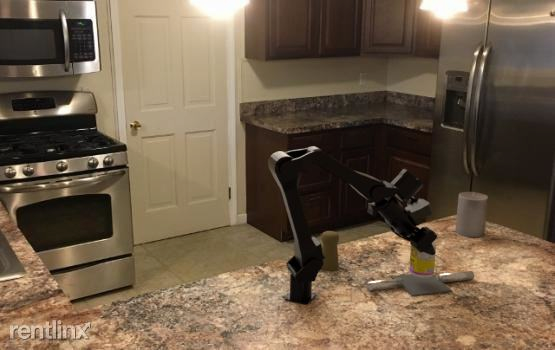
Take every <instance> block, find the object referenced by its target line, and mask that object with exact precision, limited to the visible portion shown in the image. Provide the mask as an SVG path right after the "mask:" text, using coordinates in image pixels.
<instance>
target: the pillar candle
mask: <svg viewBox="0 0 555 350" xmlns="http://www.w3.org/2000/svg"><path fill="white" fill-rule="evenodd" d="M488 197H489V196H488V195H486V194H484V193H480V192H475V191H464V192H459V194H458V201H457V208H456V209H457V211H456V220H455V221H456V222H455V230H454V232H455V233H456V234H457V235H460V236H462V237H467V238H480V237H484V234H485V230H486V229H485V228H486V222H487V221H486V219H487V208H488V199H489V198H488Z"/></svg>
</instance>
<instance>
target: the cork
mask: <svg viewBox="0 0 555 350" xmlns="http://www.w3.org/2000/svg"><path fill="white" fill-rule="evenodd" d="M320 240H321V242H322V245H321V246H322V253H323V255H324V257H325V259H323V262H324V265H323V267H322V268H321V270H320V271H324V272H331V273H333V272H337V271H339V269H340V261H339V252H338V250H339V249H338V243H339V241H340V235H339V233H338V232H336V231H334V230H333V231H332V230H326V231H324V232H322V234H321V239H320Z"/></svg>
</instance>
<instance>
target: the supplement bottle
mask: <svg viewBox="0 0 555 350" xmlns="http://www.w3.org/2000/svg"><path fill="white" fill-rule="evenodd" d="M422 227H423V226H422ZM422 227H421V226H420V227H419V228H420V229H421V228H422ZM428 228H429V229H431V230H433V231H434V229H432V228H430V227H428ZM434 232H435V231H434ZM432 245H433V247H434V249H435V252H436V251H437V241H436V240H435V241H434V242H433V243H432ZM436 253H437V252H436ZM436 253H435V254H434V255H430V254H427V253H424V252H422V253H420V252H419V251H417V250H416V249H415V248H413V246H412V245H411V244H410V256H409V265H408V266H409V268H408V272H409V274H411V275H413V276H415V277H418V278H429V277H432V276H434V275H435V264H436V263H435V262H436Z"/></svg>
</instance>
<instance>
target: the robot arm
mask: <svg viewBox="0 0 555 350" xmlns="http://www.w3.org/2000/svg"><path fill="white" fill-rule="evenodd" d="M267 165H268V169H269V170H270V173H271V174H272V177H273V178H274V180H275V182H276V183H277V187H279V190H280V192H281V195H282V198H283V202H284V205H285V209H286V212H287V216H288V220H289V224H290V227H291V230H292V233H293V238H294V243H293V251H294V253H293V254H294V255H292V257H291V258H290V259H289V260H288V261H287V262H286V263H285V264H286V265H285V266H286V268H287V270H288V272H290V274H289V292H288V293H287V295H286V296H285V297H284V300H285V301H289V302H294V303H296V304H297V303H299V304H302V305H309V304H311V301H312V300H313V299H314V298H315V297H316V296H317V292H312V291H313V290H312V289H313V282H315V281H316V279H317V276H318V274H319V272H320V271H322V270H321V268H322V267H323V265H324V262H323V259H325V257H324V255H323V253H322V246H323V245H322V243H320V241H318V239H317V238H316V237H315V236H311V231H310V229H309V224H308V221H307V218H306V217H307V216H306V213H305V209H304V206H303V201H302V199H301V195H300V191H299V188H298V187H299V179H300V178H299V174H300V173H303V172H305V171H307V170H309V169H311V168H312V167H315V166H317V167H319V168H320V169H323V170H324V171H326V172H328V173H330V174H332V175H333V176H335V177H337V178H338V179H339V180H342V181H343V182H344V183H346V184H348V185H349V186H351V188H352V189H353V190H355V192H357V193H358V194H359V195H361V197H363V198H365V200H367V201H369V202H368V203H367V205H368V208H367V213H369V214H370V215H372V217H375V216H376V215H377V214H378V213H379V214H380V216H381V217H382V218H383V219H384V221H385V227H386V228H387V229H388V230H389V231H390V232H391V233H393V234H394V235H396V236H397V237H398V238H400V239H402V240H405V241H407V242H409V244H410V246H411V245H412V246H413V248H415V249H416V250H417V251H419V252H420V253H422V252H424V253H427V254H430V255H434V254H435V253H437V252H435V249H434V247H433V245H432V243H433V242H434V241H436V239H438V235H437V233H436V231H433V230H434V229H432V228H430V227H428V226H422V228H421V229H420V227H418V226H420V224H421V223H422V222H421V221H420V220H423V219H424V218H426V217H427V218H428V217H429V216H432V215H433V214H434V212H433V209H432V207H431V204H430V202H429V201H427V200H425V199H424V198H418V199H417V198H415V197H414V196H415V195H416V194H417V193H418V192H419V191H420V190H421V188H423V186H424V184H423V183H422V182H421V180H420V179H419V178H416V176H415V175H414V174H412V173H410V171H409V170H408V169H407V168H402V170H401V171H400V172H399V174H397V176H396V177H395V178H394V179H393V180H392V181H391V182H388V181H386V180H379V179H378V178H376V177H374V176H372V175H369V174H367V173H363V172H360V171H357V170H354V169H352V168H351V167H349V166H347V165H345V164H344V163H343V162H341V161H339V160H337V159H336V158H334V157H332V156H331V155H329V154H327V153H325V151H324V150H322V149H320V148H319V147H317V146H314V145H313V146H309V147H306V148H300V149H293V150H288V151H280V150H279V151H276V152H274V153H272V154H271V155H270V156H269V158H268V160H267ZM397 199H398V200H399V201H401V202H403V201H405V202H406V203H407V204H406V206H405V207H404V206H403V205H402V204H401V203H400V202H399V201H398V200H397ZM429 228H430V229H429ZM431 229H432V230H431ZM435 255H436V254H435Z"/></svg>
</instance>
